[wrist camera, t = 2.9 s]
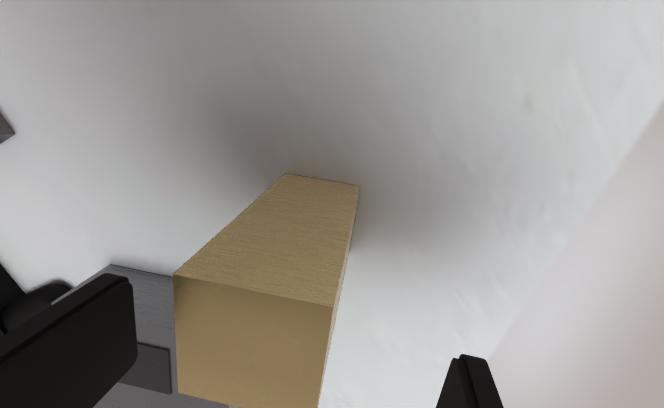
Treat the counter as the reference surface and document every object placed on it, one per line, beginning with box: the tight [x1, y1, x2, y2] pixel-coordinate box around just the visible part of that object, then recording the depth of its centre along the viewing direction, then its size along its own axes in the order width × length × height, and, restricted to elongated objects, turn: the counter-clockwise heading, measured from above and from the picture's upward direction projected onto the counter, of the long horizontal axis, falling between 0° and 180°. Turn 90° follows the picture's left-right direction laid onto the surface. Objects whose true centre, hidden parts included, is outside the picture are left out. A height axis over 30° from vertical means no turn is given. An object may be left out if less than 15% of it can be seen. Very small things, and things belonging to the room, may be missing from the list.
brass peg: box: [173, 173, 360, 408], centre depth 13 cm, size 4×4×10 cm
